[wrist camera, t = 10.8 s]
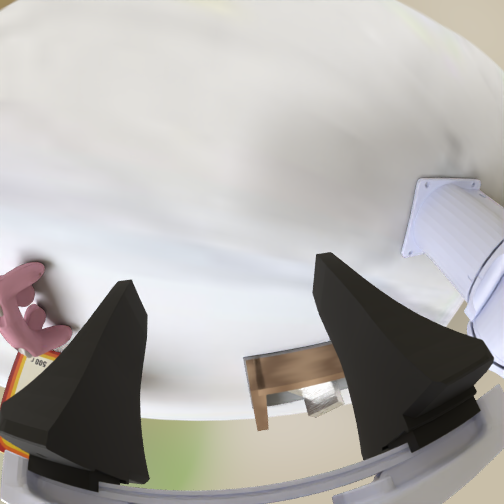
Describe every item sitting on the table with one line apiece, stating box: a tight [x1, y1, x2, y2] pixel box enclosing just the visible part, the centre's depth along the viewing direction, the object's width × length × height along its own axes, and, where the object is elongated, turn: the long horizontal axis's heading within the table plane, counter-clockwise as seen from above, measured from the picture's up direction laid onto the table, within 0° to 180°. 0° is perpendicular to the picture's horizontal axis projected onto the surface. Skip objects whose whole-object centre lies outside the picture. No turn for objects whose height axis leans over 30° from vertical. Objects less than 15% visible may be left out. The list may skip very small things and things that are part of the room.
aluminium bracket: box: [288, 380, 345, 417], centre depth 32 cm, size 6×4×5 cm
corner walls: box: [246, 342, 345, 431], centre depth 33 cm, size 18×15×4 cm
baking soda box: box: [0, 350, 61, 459], centre depth 21 cm, size 10×6×16 cm
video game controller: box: [0, 262, 72, 358], centre depth 19 cm, size 10×5×7 cm, turn 174°
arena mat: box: [243, 341, 348, 409], centre depth 34 cm, size 18×15×1 cm
